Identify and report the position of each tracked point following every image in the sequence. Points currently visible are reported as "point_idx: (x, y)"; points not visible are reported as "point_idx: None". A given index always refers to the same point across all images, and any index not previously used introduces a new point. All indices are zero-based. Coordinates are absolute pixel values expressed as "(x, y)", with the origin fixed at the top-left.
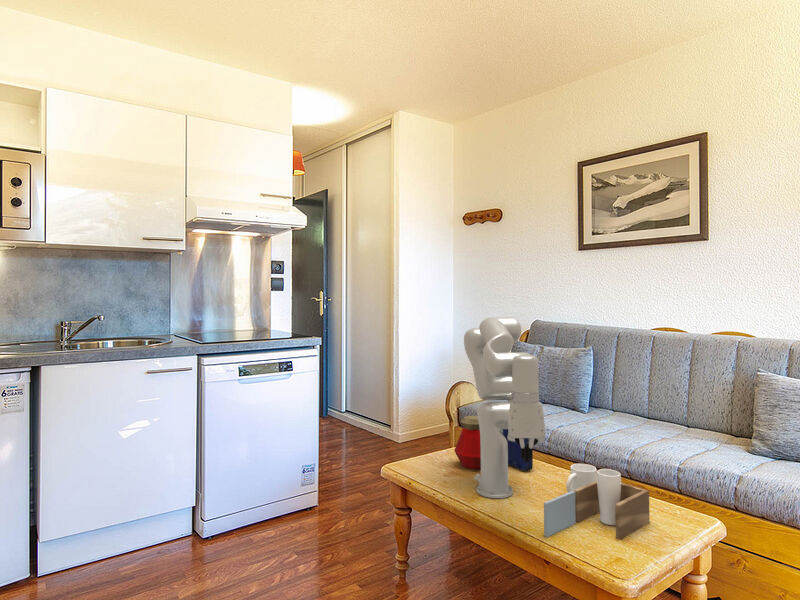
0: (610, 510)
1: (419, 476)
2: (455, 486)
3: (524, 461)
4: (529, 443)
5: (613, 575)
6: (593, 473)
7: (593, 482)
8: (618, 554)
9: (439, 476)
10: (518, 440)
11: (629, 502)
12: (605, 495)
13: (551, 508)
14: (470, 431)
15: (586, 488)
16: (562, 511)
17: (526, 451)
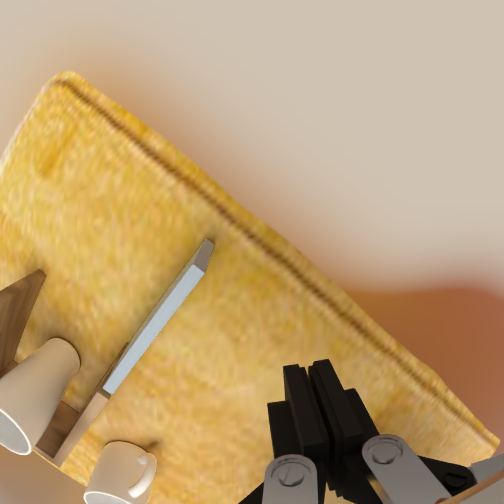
0: (40, 352)
1: (464, 447)
2: (414, 442)
3: (328, 359)
4: (315, 496)
5: (71, 87)
6: (87, 488)
7: (72, 446)
8: (45, 190)
9: None
10: (442, 487)
11: None
12: (30, 375)
13: (179, 279)
14: None
15: (80, 416)
16: (149, 317)
17: (332, 420)
